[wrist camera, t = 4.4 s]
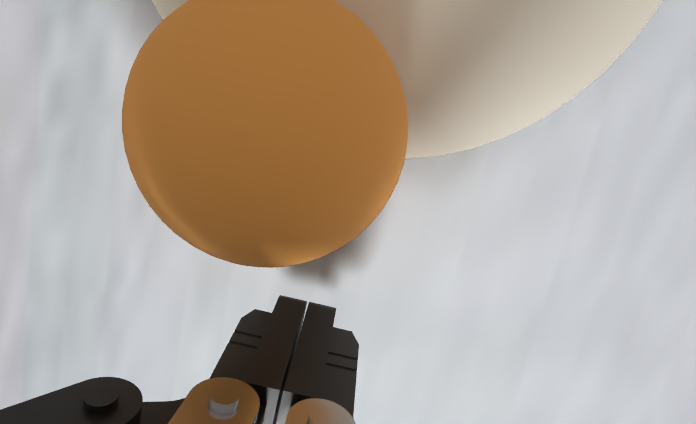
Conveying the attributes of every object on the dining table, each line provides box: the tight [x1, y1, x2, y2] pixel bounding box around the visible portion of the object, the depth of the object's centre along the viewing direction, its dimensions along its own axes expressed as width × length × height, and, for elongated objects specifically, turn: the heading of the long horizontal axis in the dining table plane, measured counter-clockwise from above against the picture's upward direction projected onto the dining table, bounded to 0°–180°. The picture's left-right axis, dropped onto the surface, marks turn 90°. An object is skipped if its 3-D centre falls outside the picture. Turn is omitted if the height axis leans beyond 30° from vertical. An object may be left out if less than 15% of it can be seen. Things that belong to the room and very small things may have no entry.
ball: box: [122, 0, 408, 267], centre depth 10 cm, size 6×6×6 cm
